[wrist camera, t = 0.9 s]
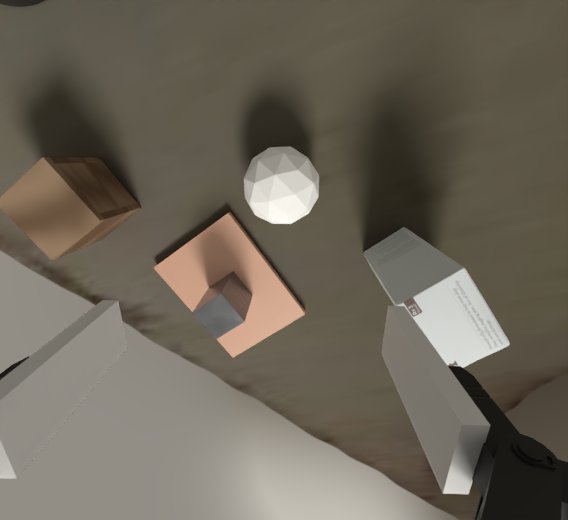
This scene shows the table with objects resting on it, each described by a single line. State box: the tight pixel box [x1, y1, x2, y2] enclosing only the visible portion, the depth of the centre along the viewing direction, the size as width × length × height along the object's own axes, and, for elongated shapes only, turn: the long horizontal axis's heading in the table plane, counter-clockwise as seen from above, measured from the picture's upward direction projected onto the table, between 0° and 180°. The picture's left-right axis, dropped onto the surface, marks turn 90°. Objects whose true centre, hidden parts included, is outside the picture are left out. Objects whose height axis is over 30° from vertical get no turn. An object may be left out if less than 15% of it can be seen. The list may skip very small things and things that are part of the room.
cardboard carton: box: [0, 157, 141, 260], centre depth 32 cm, size 7×7×8 cm
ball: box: [244, 146, 319, 224], centre depth 31 cm, size 8×8×8 cm
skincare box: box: [363, 227, 510, 368], centre depth 30 cm, size 8×6×15 cm
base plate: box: [154, 212, 305, 357], centre depth 38 cm, size 16×12×1 cm
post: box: [192, 271, 253, 339], centre depth 35 cm, size 4×4×6 cm
